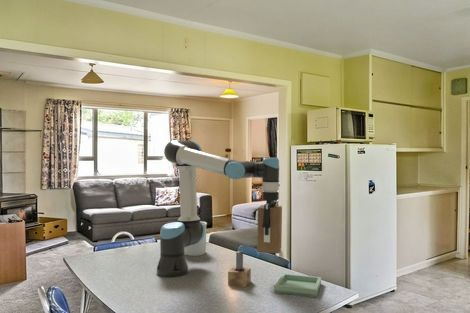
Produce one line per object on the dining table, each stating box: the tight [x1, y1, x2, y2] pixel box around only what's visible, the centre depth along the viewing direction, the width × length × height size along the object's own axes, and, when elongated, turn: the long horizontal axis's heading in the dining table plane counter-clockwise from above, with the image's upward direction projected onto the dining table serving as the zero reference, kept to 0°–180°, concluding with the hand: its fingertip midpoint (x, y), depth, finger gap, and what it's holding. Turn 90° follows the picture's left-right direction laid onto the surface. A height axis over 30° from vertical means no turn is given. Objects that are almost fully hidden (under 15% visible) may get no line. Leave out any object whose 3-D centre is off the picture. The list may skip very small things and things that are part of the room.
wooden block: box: [256, 204, 283, 254], centre depth 174 cm, size 10×10×20 cm
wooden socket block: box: [227, 266, 252, 288], centre depth 169 cm, size 8×8×6 cm
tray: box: [274, 273, 322, 298], centre depth 163 cm, size 17×17×3 cm
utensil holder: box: [184, 220, 208, 257], centre depth 223 cm, size 15×15×18 cm
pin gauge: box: [235, 250, 244, 271], centre depth 169 cm, size 3×3×14 cm
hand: (269, 239), depth 174 cm, fingers closed on wooden block, 10 cm apart
